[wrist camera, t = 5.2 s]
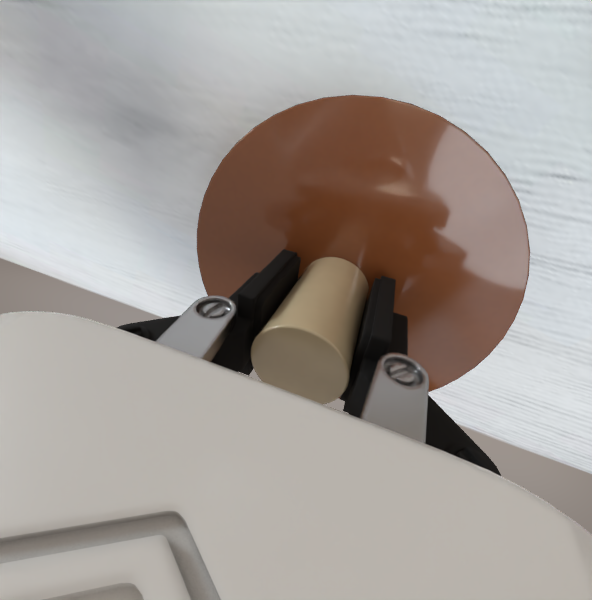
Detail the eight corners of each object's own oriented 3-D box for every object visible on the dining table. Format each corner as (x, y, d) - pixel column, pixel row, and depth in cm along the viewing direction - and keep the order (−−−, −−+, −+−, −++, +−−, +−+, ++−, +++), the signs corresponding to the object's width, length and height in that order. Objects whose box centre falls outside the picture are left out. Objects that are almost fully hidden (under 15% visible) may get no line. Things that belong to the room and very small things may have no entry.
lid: (205, 73, 11) (26, 23, 6) (622, 135, 8) (981, 146, 3) (213, 339, 18) (140, 420, 13) (430, 417, 16) (441, 554, 11)
